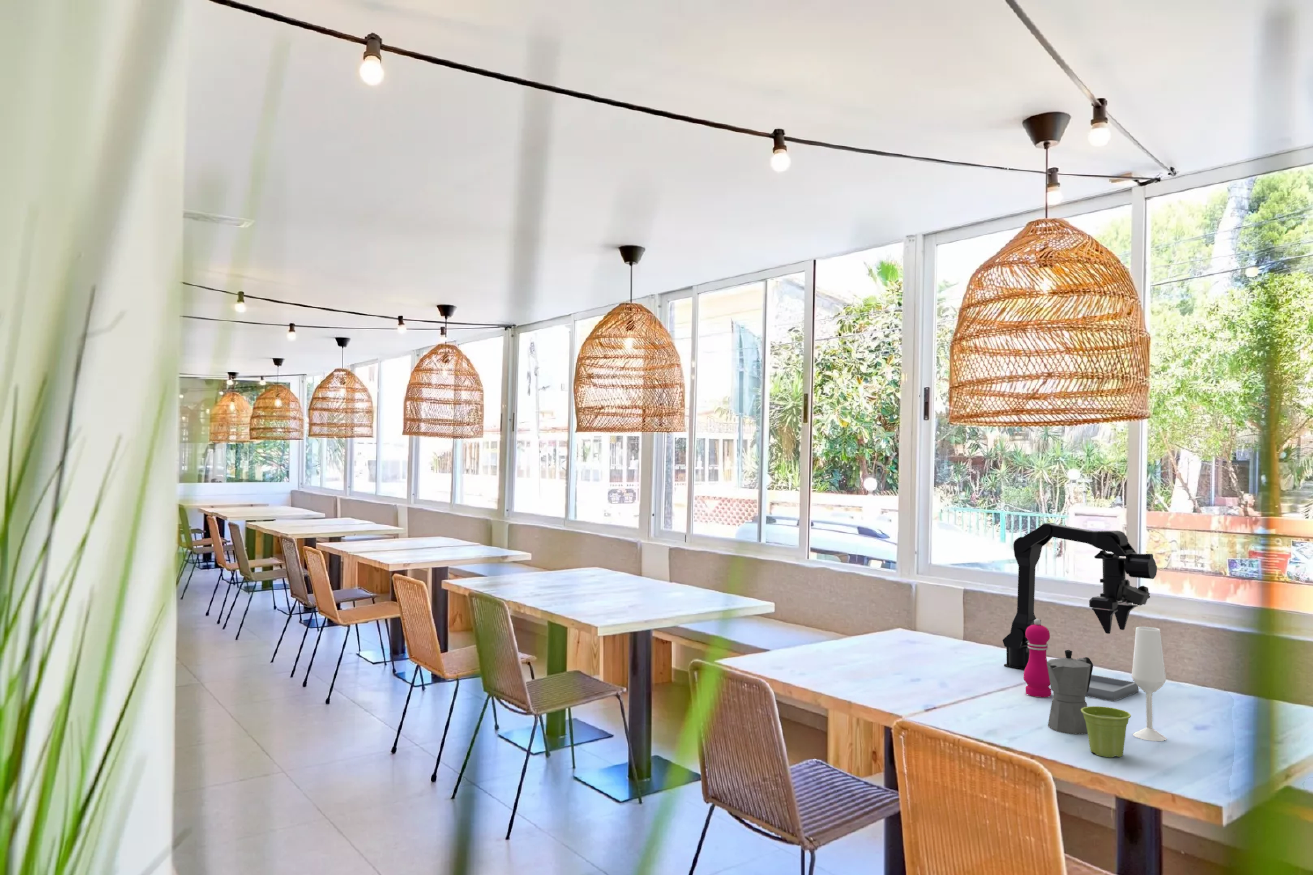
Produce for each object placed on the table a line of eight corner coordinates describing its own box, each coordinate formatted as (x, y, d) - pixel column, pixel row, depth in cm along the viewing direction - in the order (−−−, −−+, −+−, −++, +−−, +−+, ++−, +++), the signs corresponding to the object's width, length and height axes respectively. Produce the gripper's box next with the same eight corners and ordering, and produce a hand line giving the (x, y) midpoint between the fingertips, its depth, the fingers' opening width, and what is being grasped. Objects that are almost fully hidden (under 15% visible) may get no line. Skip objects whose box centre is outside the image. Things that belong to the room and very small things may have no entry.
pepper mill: (1017, 692, 234) (1016, 617, 235) (1037, 689, 238) (1036, 615, 238) (1039, 698, 228) (1038, 621, 229) (1059, 696, 231) (1058, 619, 232)
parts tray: (1053, 689, 238) (1053, 680, 238) (1079, 681, 248) (1079, 672, 248) (1113, 701, 226) (1113, 691, 226) (1138, 691, 236) (1138, 682, 236)
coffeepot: (1071, 738, 194) (1069, 656, 195) (1033, 727, 202) (1032, 649, 203) (1111, 728, 202) (1110, 649, 203) (1073, 718, 210) (1072, 642, 211)
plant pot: (1078, 755, 182) (1077, 713, 183) (1084, 743, 190) (1084, 703, 191) (1129, 763, 177) (1128, 720, 178) (1133, 751, 185) (1133, 710, 185)
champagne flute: (1150, 742, 192) (1148, 631, 193) (1125, 733, 198) (1123, 626, 199) (1174, 739, 194) (1172, 630, 194) (1149, 730, 200) (1147, 625, 201)
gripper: (1130, 580, 233) (1131, 639, 233) (1158, 575, 245) (1159, 632, 245) (1087, 577, 242) (1088, 633, 241) (1116, 572, 254) (1117, 626, 253)
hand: (1115, 631), depth 245 cm, fingers open, 9 cm apart
